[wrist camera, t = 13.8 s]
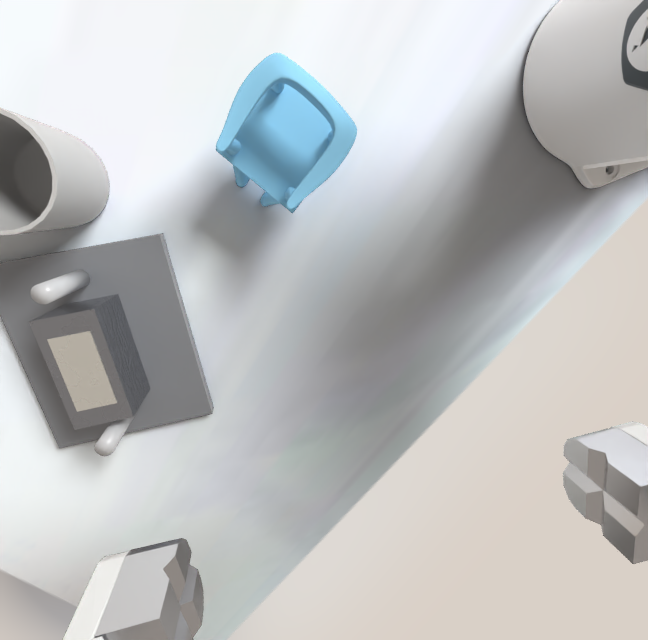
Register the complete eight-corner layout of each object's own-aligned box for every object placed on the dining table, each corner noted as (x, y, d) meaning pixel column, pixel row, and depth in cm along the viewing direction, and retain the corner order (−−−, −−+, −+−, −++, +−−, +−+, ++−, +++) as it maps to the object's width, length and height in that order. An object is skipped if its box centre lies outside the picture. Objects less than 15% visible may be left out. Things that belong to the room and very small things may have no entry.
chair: (211, 164, 32) (183, 145, 21) (272, 78, 31) (277, 9, 20) (286, 224, 35) (296, 236, 23) (345, 146, 33) (387, 118, 22)
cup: (70, 245, 32) (2, 260, 24) (-44, 145, 29) (-168, 121, 21) (131, 185, 32) (84, 178, 23) (22, 76, 29) (-78, 23, 20)
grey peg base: (162, 233, 33) (137, 241, 26) (213, 407, 38) (203, 451, 31) (-12, 264, 32) (-86, 281, 25) (65, 440, 37) (21, 494, 30)
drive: (118, 293, 33) (93, 309, 28) (150, 388, 36) (133, 417, 31) (62, 304, 32) (27, 322, 28) (99, 399, 35) (74, 430, 30)
